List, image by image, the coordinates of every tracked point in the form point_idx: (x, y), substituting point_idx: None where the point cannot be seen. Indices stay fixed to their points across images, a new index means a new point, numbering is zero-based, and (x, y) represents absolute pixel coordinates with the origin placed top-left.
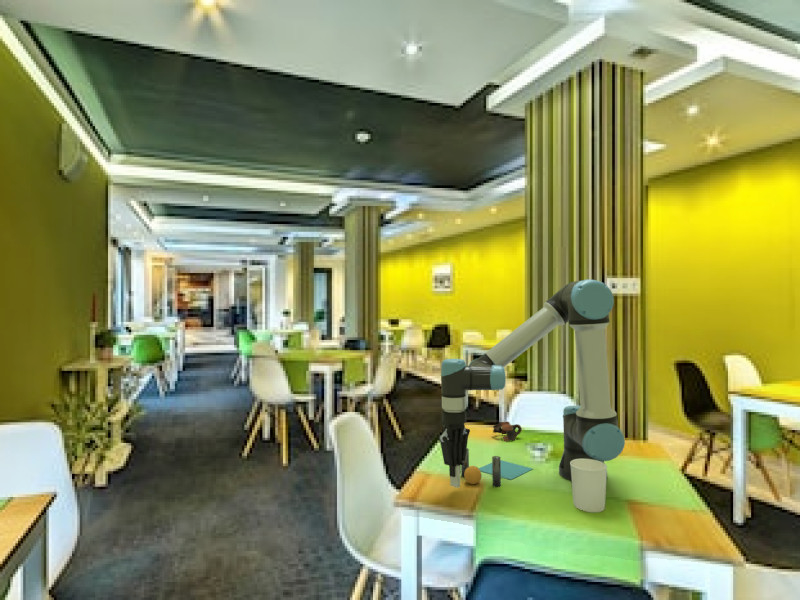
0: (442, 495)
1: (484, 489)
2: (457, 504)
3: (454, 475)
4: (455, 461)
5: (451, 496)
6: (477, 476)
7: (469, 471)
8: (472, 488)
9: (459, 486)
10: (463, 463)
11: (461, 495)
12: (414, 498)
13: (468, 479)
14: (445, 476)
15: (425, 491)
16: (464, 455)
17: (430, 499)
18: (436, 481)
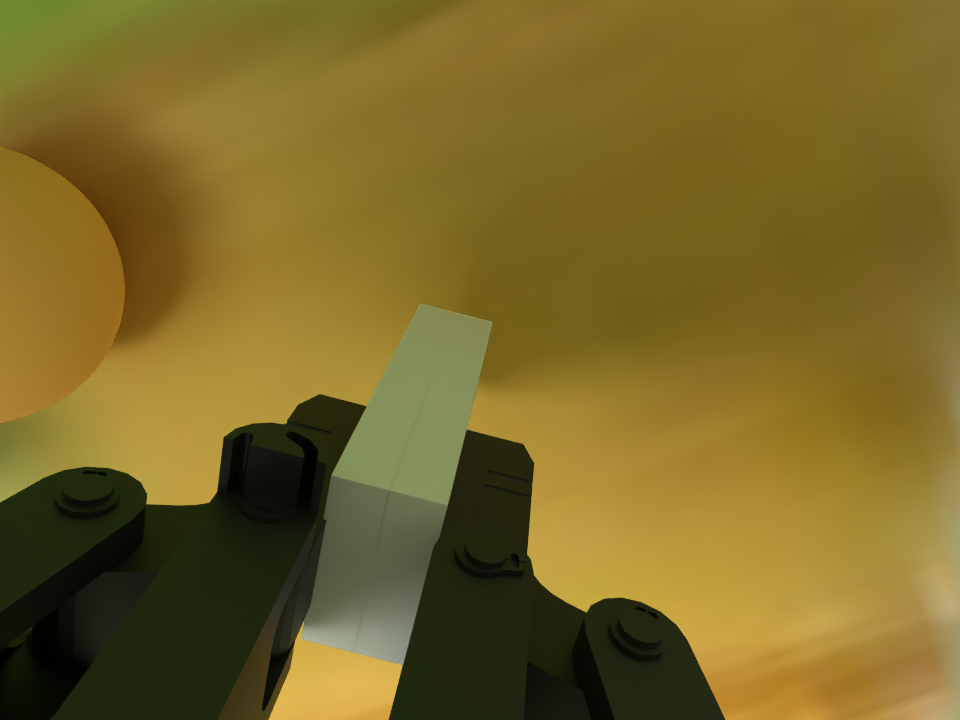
0: (632, 439)
1: (127, 5)
2: (843, 145)
3: (489, 449)
4: (460, 615)
5: (610, 329)
6: (2, 174)
7: (18, 331)
8: (204, 186)
9: (438, 310)
10: (240, 432)
11: (512, 224)
12: (858, 666)
13: (120, 296)
14: None
15: None
16: (6, 554)
17: (816, 513)
18: None
